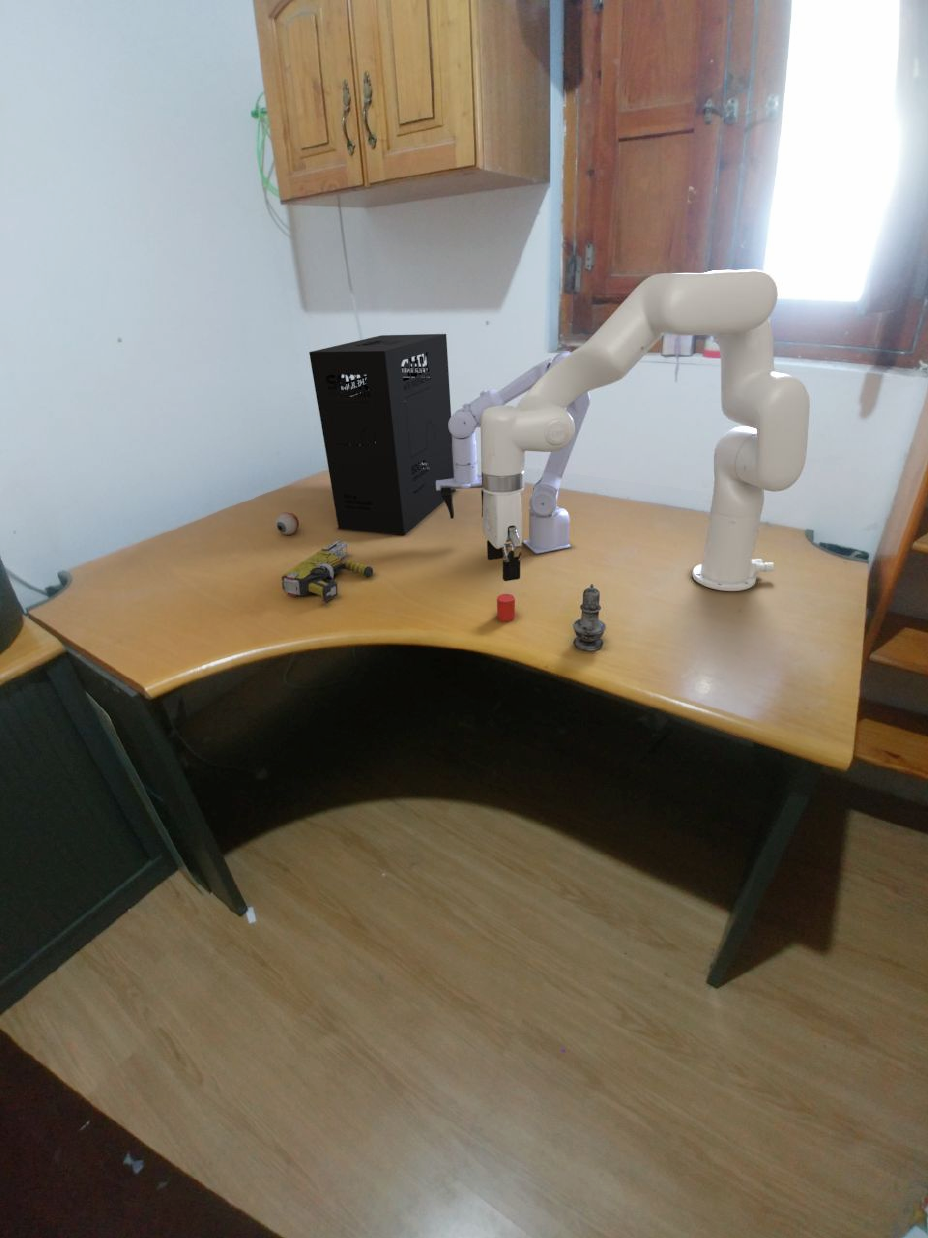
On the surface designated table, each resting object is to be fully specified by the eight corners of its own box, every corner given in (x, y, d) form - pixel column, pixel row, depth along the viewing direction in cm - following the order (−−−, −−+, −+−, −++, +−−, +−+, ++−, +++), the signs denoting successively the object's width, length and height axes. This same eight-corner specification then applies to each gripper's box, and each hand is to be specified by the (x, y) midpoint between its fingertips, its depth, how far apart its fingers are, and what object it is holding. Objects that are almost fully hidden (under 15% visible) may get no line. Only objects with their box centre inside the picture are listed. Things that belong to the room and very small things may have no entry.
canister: (494, 619, 119) (494, 600, 117) (501, 611, 122) (501, 592, 120) (510, 622, 118) (510, 603, 116) (517, 614, 121) (517, 595, 118)
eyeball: (273, 537, 164) (268, 516, 161) (287, 528, 169) (282, 508, 166) (291, 539, 161) (286, 518, 158) (305, 530, 166) (301, 510, 163)
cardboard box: (397, 486, 197) (381, 335, 174) (455, 490, 190) (446, 333, 168) (338, 528, 167) (309, 351, 144) (404, 535, 160) (384, 350, 137)
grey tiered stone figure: (604, 652, 107) (609, 592, 101) (571, 650, 108) (573, 591, 102) (604, 635, 112) (609, 577, 106) (572, 633, 113) (575, 575, 107)
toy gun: (389, 548, 145) (334, 537, 149) (339, 588, 125) (277, 575, 129) (389, 566, 147) (335, 555, 151) (340, 608, 127) (279, 595, 131)
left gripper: (433, 468, 140) (437, 523, 147) (495, 465, 139) (497, 521, 146) (435, 459, 146) (439, 513, 153) (495, 457, 145) (496, 511, 152)
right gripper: (469, 469, 113) (472, 554, 121) (497, 498, 98) (497, 591, 107) (507, 465, 114) (507, 549, 123) (540, 492, 100) (537, 585, 108)
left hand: (467, 516), depth 150 cm, fingers open, 7 cm apart
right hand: (503, 568), depth 115 cm, fingers open, 9 cm apart
